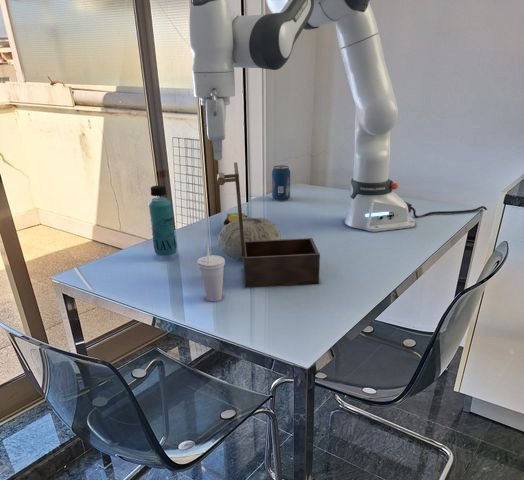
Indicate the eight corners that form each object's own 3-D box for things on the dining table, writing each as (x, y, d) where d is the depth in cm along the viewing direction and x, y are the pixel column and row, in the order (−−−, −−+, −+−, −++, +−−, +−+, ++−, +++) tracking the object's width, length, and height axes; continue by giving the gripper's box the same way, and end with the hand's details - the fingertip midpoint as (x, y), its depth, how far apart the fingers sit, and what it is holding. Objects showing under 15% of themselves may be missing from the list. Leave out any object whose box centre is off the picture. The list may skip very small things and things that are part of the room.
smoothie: (201, 293, 124) (195, 238, 116) (227, 291, 124) (223, 236, 117) (200, 304, 118) (194, 247, 111) (227, 302, 119) (223, 246, 111)
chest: (311, 265, 137) (312, 237, 133) (318, 283, 127) (319, 254, 122) (243, 269, 136) (242, 241, 132) (245, 287, 126) (243, 258, 122)
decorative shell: (271, 269, 135) (270, 233, 130) (209, 264, 140) (206, 228, 134) (287, 247, 149) (287, 213, 144) (231, 242, 154) (229, 210, 149)
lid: (237, 162, 121) (216, 163, 121) (238, 173, 111) (216, 175, 111) (243, 239, 132) (224, 241, 131) (245, 256, 121) (224, 258, 121)
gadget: (249, 227, 170) (248, 210, 168) (244, 233, 158) (243, 215, 156) (230, 226, 171) (230, 210, 169) (223, 233, 159) (223, 215, 156)
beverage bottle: (151, 259, 143) (140, 188, 133) (162, 251, 149) (153, 182, 138) (171, 262, 141) (161, 190, 131) (182, 254, 147) (174, 184, 136)
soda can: (273, 196, 198) (272, 164, 191) (290, 196, 197) (290, 164, 191) (271, 201, 192) (271, 168, 186) (289, 201, 191) (289, 168, 185)
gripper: (229, 90, 99) (232, 164, 106) (228, 83, 116) (231, 146, 123) (197, 91, 98) (203, 165, 106) (201, 84, 116) (205, 147, 123)
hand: (218, 155), depth 115 cm, fingers open, 8 cm apart
